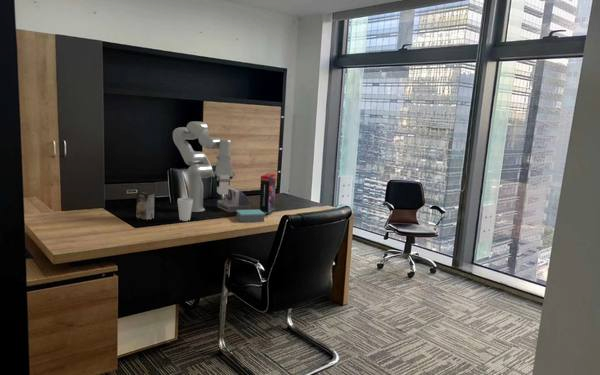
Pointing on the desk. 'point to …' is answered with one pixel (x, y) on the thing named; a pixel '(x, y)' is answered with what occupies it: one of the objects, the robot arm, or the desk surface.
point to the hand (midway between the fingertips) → (222, 186)
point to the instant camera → (234, 201)
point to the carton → (223, 185)
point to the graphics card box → (267, 193)
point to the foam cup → (185, 208)
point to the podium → (250, 215)
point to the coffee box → (145, 205)
